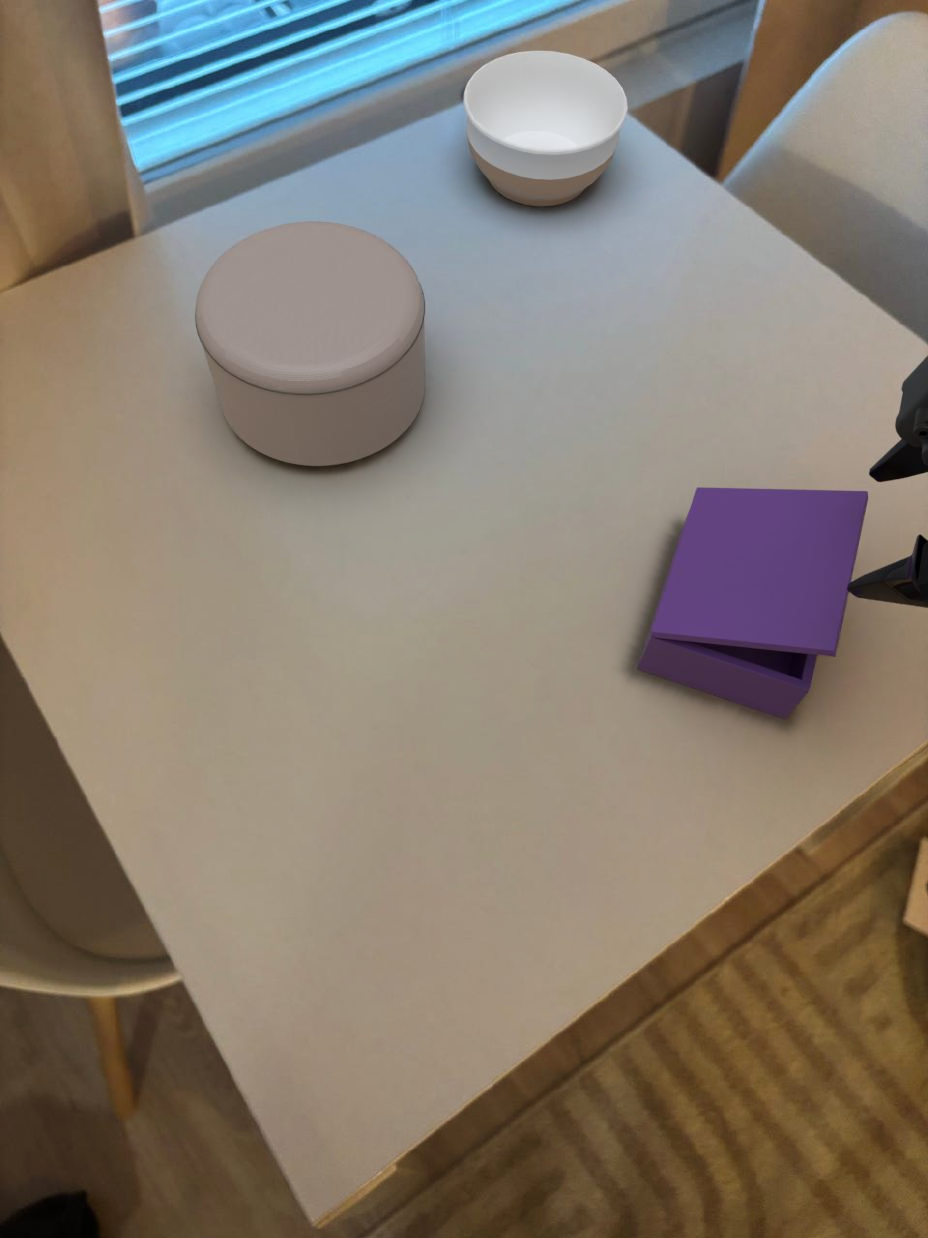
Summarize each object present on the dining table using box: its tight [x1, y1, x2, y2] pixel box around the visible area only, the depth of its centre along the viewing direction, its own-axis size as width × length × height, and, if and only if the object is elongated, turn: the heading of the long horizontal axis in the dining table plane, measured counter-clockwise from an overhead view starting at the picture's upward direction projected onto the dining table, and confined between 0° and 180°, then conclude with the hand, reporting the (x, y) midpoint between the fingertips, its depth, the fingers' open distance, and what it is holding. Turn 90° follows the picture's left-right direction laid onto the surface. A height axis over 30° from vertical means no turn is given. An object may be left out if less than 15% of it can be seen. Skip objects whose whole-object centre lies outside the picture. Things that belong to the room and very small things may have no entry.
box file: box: [636, 509, 818, 720], centre depth 71 cm, size 11×13×5 cm
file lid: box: [651, 486, 869, 658], centre depth 66 cm, size 12×13×1 cm
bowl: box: [462, 50, 629, 207], centre depth 95 cm, size 16×16×8 cm
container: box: [194, 221, 426, 467], centre depth 78 cm, size 18×18×12 cm
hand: (862, 531), depth 59 cm, fingers open, 9 cm apart
